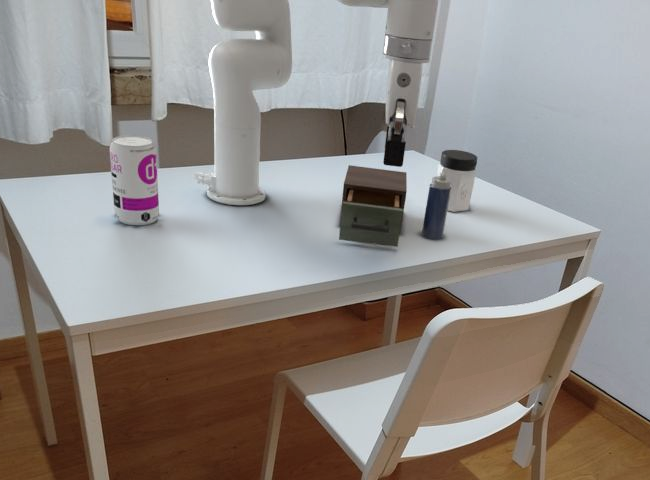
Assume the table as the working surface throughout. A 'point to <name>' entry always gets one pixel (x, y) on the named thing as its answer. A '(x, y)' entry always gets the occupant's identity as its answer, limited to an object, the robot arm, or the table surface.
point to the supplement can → (134, 180)
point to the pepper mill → (437, 207)
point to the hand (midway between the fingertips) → (393, 157)
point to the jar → (459, 177)
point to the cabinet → (375, 183)
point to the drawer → (371, 218)
